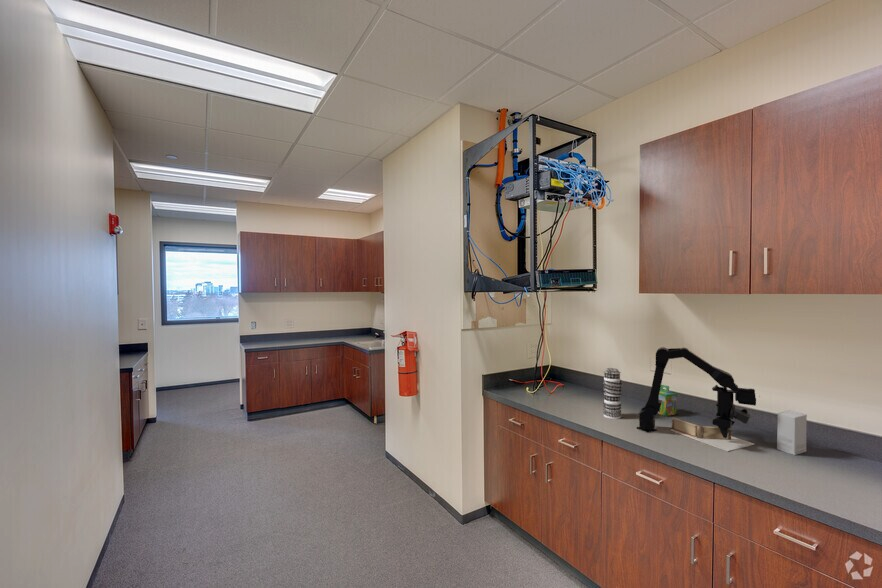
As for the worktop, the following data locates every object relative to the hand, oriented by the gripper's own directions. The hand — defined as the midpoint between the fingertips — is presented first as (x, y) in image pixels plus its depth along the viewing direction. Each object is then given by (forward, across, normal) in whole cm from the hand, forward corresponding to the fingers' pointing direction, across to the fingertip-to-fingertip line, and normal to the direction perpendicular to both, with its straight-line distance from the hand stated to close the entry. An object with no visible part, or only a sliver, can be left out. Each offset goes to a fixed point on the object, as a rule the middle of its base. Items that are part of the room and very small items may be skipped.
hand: (725, 437), depth 170 cm
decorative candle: (+2, +2, +49) cm, 49 cm away
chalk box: (+2, +26, +31) cm, 40 cm away
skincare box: (+2, +8, -21) cm, 23 cm away
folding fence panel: (+2, +2, +3) cm, 4 cm away
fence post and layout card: (+2, +3, +6) cm, 7 cm away
